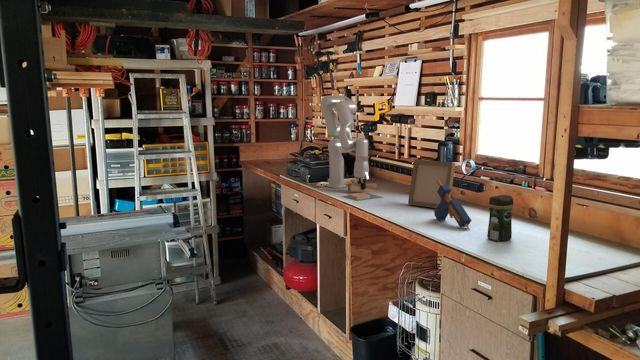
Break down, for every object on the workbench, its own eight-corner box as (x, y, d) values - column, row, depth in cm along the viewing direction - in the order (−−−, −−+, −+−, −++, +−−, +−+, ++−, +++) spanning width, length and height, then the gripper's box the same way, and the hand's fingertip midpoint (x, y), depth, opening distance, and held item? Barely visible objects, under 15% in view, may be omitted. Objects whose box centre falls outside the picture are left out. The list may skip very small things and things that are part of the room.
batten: (347, 191, 301) (348, 183, 300) (373, 190, 312) (374, 183, 311) (350, 192, 299) (351, 184, 298) (376, 191, 309) (377, 183, 309)
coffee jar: (498, 235, 211) (501, 192, 208) (514, 239, 204) (517, 195, 201) (483, 238, 206) (485, 194, 203) (499, 243, 199) (502, 198, 196)
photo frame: (445, 211, 255) (448, 163, 252) (407, 205, 268) (409, 160, 265) (456, 206, 267) (459, 160, 263) (419, 201, 280) (421, 158, 276)
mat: (340, 197, 291) (340, 196, 291) (367, 193, 302) (367, 192, 301) (356, 202, 278) (356, 201, 278) (384, 198, 288) (384, 197, 288)
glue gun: (455, 248, 226) (469, 227, 216) (421, 200, 245) (432, 178, 235) (465, 246, 229) (479, 225, 219) (430, 198, 247) (442, 177, 237)
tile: (360, 195, 294) (348, 196, 290) (360, 192, 294) (348, 194, 289) (369, 197, 287) (357, 199, 282) (369, 195, 287) (357, 196, 282)
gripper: (349, 158, 307) (348, 187, 309) (365, 160, 293) (364, 191, 296) (358, 157, 311) (358, 186, 313) (375, 160, 297) (374, 190, 300)
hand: (361, 188), depth 305 cm, fingers closed on batten, 3 cm apart
